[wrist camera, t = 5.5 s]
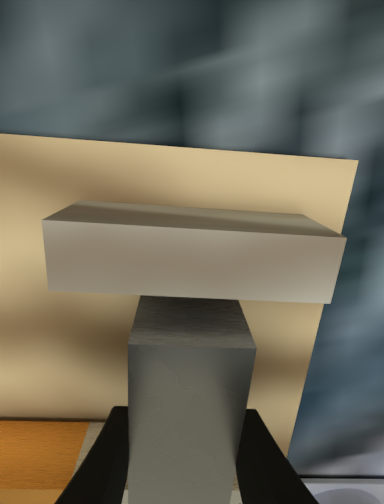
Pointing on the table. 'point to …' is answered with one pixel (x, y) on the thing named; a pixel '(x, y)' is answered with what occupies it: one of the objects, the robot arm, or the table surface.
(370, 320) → the table surface
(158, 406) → the steel block
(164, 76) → the table surface
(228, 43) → the table surface
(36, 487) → the block
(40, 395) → the base
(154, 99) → the table surface
